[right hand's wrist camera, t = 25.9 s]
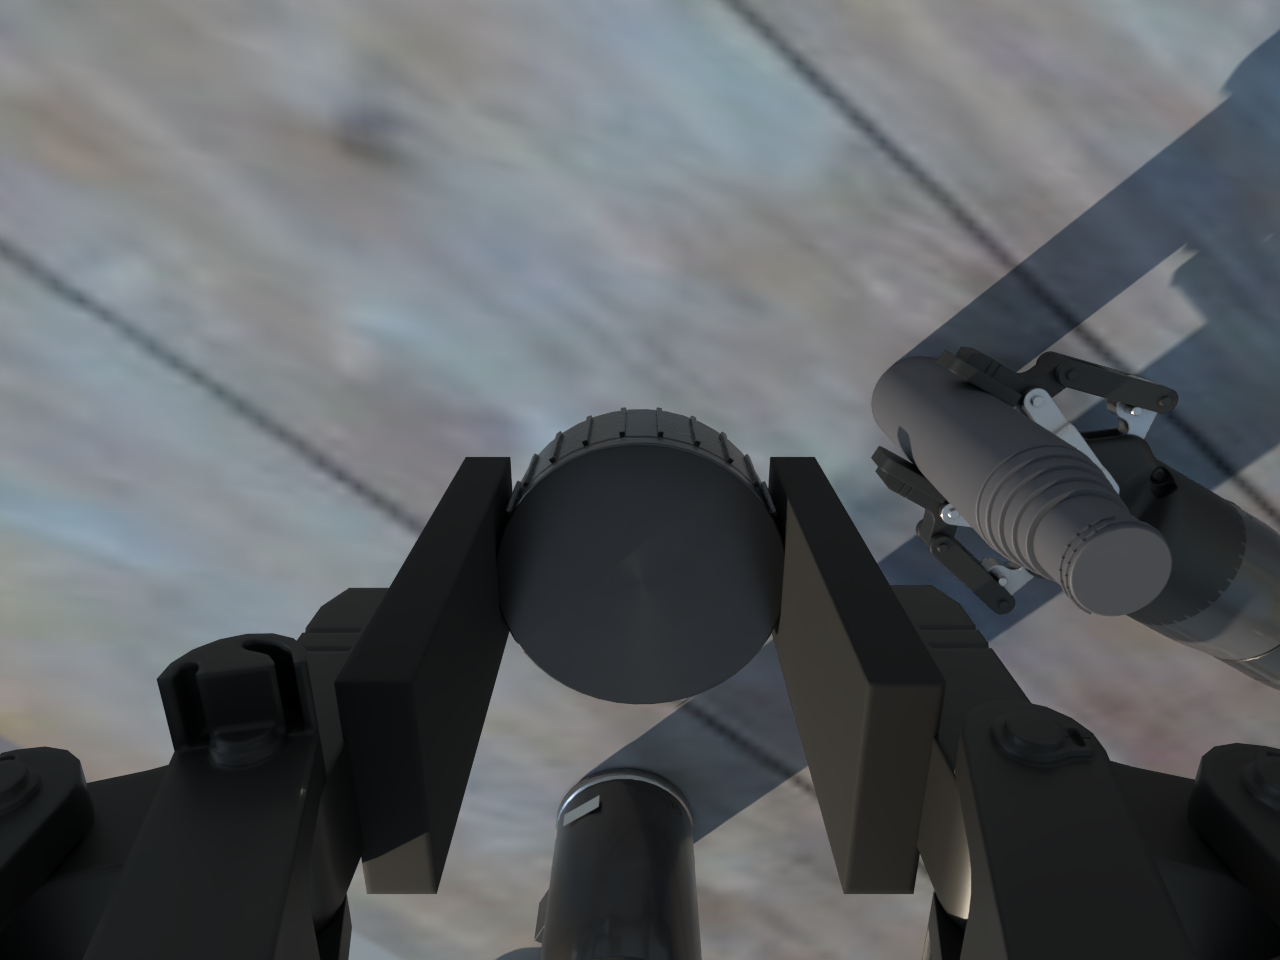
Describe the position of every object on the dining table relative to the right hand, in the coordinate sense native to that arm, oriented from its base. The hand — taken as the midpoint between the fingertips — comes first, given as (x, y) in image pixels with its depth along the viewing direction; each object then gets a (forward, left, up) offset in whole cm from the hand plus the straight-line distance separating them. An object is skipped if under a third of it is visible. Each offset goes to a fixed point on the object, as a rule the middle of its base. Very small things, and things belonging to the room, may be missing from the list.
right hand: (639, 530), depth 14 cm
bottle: (+3, +16, -32) cm, 36 cm away
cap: (0, 0, +2) cm, 2 cm away
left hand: (+2, +14, -26) cm, 29 cm away
